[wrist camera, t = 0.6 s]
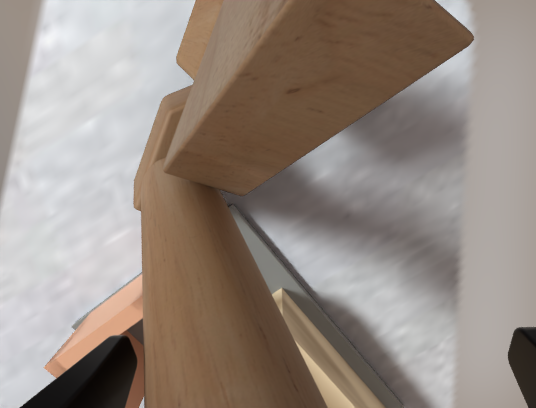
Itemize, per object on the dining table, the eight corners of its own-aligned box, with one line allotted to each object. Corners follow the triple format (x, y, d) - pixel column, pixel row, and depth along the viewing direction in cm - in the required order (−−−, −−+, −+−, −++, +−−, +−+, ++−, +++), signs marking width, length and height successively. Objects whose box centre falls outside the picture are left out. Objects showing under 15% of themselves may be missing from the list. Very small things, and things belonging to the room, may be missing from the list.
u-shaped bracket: (149, 367, 25) (119, 431, 20) (90, 312, 24) (43, 367, 19) (231, 312, 23) (220, 368, 19) (173, 250, 22) (144, 293, 17)
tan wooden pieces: (260, 28, 18) (820, 43, 3) (191, 198, 21) (314, 601, 6) (196, -9, 17) (751, -331, 2) (131, 182, 20) (110, 679, 5)
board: (254, 481, 30) (253, 489, 29) (76, 321, 25) (71, 326, 24) (403, 405, 26) (405, 412, 26) (232, 203, 21) (231, 206, 21)
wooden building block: (347, 436, 27) (359, 492, 23) (236, 317, 23) (228, 360, 20) (391, 413, 26) (410, 468, 22) (281, 287, 23) (282, 326, 19)
